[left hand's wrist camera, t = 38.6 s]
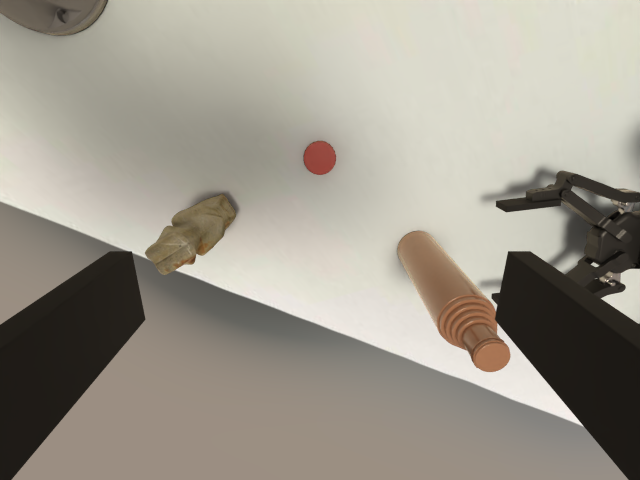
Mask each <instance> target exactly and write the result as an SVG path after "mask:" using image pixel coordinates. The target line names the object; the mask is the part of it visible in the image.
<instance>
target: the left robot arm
mask: <svg viewBox="0 0 640 480" xmlns="http://www.w3.org/2000/svg"><path fill="white" fill-rule="evenodd" d="M106 2H107V0H0V13H2V14H3V15H5V16H6V17H8V18H9V19H11V20H12V21H14V22H16V23H18V24H20V25H22V26H24V27H26V28H29V29H32V30H35V31H39V32H42V33H46V34H51V35H69V34H73V33H77V32H79V31H81V30H83V29H85V28H87V27H88V26H89V25H91V24H92V23H93V22H94V21H95V20H96V19H97V18H98V16H99V15H100V14H101V12H102V10H103V9H104V6H105V4H106ZM144 320H145V315H144V310H143V305H142V300H141V295H140V290H139V285H138V280H137V275H136V270H135V265H134V260H133V255H132V251H123V252H119V251H115V252H113V251H110V252H108V253H107V254H105V255H104V256H102V257H101V258H99V259H98V260H96V261H95V262H93V263H92V264H90V265H89V266H87V267H86V268H84V269H83V270H82V271H80V272H79V273H77V274H76V275H74V276H72V277H71V278H69V279H68V280H66V281H65V282H63V283H62V284H61V285H59V286H58V287H56V288H55V289H53V290H52V291H50V292H49V293H47V294H46V295H44V296H43V297H41V298H40V299H38V300H37V301H35V302H34V303H32V304H31V305H29V306H28V307H26V308H25V309H23V310H22V311H20V312H19V313H17V314H16V315H14V316H13V317H11V318H10V319H8V320H7V321H5V322H4V323H2V324H1V325H0V480H11V479H12V478H13V477H14V476H15V475H16V474H17V472H18V471H19V470H20V469H21V468H22V466H23V465H24V464H25V463H26V462H27V460H28V459H29V458H30V457H31V456H32V454H33V453H34V452H35V451H36V450H37V448H38V447H39V446H40V445H41V444H42V442H43V441H44V440H45V439H46V438H47V436H48V435H49V434H50V433H51V432H52V431H53V429H54V428H55V427H56V426H57V425H58V423H59V422H60V421H61V420H62V419H63V417H64V416H65V415H66V414H67V413H68V411H69V410H70V409H71V408H72V407H73V405H74V404H75V403H76V402H77V401H78V399H79V398H80V397H81V396H82V395H83V393H84V392H85V391H86V390H87V389H88V387H89V386H90V385H91V384H92V383H93V382H94V380H95V379H96V378H97V377H98V375H99V374H100V373H101V372H102V371H103V370H104V368H105V367H106V366H107V365H108V364H109V362H110V361H111V360H112V359H113V358H114V356H115V355H116V354H117V353H118V352H119V350H120V349H121V348H122V347H123V346H124V344H125V343H126V342H127V341H128V340H129V338H130V337H131V336H132V335H133V334H134V332H135V331H136V330H137V329H138V328H139V327H140V325H141V324H142V323H143V322H144ZM495 321H496V322H497V323H498V324H499V325H500V327H501V328H502V329H503V330H504V331H505V332H506V334H507V335H508V336H509V337H510V338H511V340H512V341H513V342H514V343H515V344H516V346H517V347H518V348H519V349H520V350H521V352H522V353H523V354H524V355H525V356H526V358H527V359H528V360H529V361H530V362H531V364H532V365H533V366H534V367H535V368H536V370H537V371H538V372H539V373H540V374H541V376H542V377H543V378H544V379H545V380H546V382H547V383H548V384H549V385H550V386H551V387H552V389H553V390H554V391H555V392H556V393H557V395H558V396H559V397H560V398H561V399H562V401H563V402H564V403H565V404H566V405H567V407H568V408H569V409H570V410H571V411H572V413H573V414H574V415H575V416H576V417H577V419H578V420H579V421H580V422H581V423H582V425H583V426H584V427H585V428H586V429H587V431H588V432H589V433H590V434H591V435H592V436H593V438H594V439H595V440H596V441H597V442H598V444H599V445H600V446H601V447H602V448H603V450H604V451H605V452H606V453H607V454H608V456H609V457H610V458H611V459H612V460H613V462H614V463H615V464H616V465H617V466H618V468H619V469H620V470H621V471H622V472H623V474H624V475H625V476H626V477H627V478H628V479H629V480H640V325H639V324H638V323H636V322H635V321H633V320H632V319H630V318H629V317H627V316H626V315H624V314H623V313H621V312H620V311H618V310H617V309H615V308H614V307H612V306H611V305H609V304H608V303H606V302H605V301H603V300H602V299H600V298H599V297H597V296H596V295H594V294H593V293H591V292H590V291H588V290H587V289H585V288H584V287H582V286H581V285H579V284H578V283H577V282H575V281H574V280H572V279H571V278H569V277H568V276H566V275H565V274H563V273H562V272H560V271H559V270H557V269H556V268H554V267H553V266H551V265H550V264H548V263H547V262H545V261H544V260H542V259H541V258H539V257H538V256H536V255H535V254H533V253H532V252H530V251H508V255H507V260H506V265H505V270H504V275H503V280H502V285H501V290H500V295H499V300H498V305H497V310H496V315H495Z"/></svg>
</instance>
